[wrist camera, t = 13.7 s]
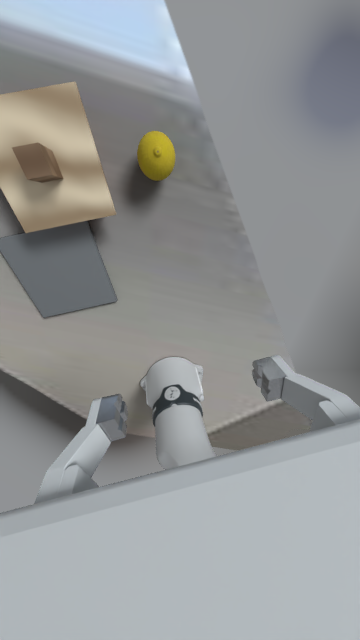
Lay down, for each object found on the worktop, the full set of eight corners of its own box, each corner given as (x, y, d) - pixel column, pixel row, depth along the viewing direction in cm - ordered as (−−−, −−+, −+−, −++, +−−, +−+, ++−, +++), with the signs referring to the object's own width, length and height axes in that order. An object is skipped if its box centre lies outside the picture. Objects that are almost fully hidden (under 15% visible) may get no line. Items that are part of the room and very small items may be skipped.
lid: (116, 214, 31) (112, 215, 27) (27, 232, 30) (10, 236, 26) (76, 84, 23) (62, 59, 19) (-42, 105, 23) (-81, 84, 19)
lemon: (135, 175, 33) (132, 168, 26) (142, 133, 30) (141, 113, 23) (167, 188, 34) (172, 183, 27) (176, 149, 32) (184, 133, 25)
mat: (117, 299, 43) (116, 301, 42) (45, 315, 42) (43, 317, 42) (86, 220, 35) (85, 220, 34) (-4, 238, 34) (-8, 239, 33)
